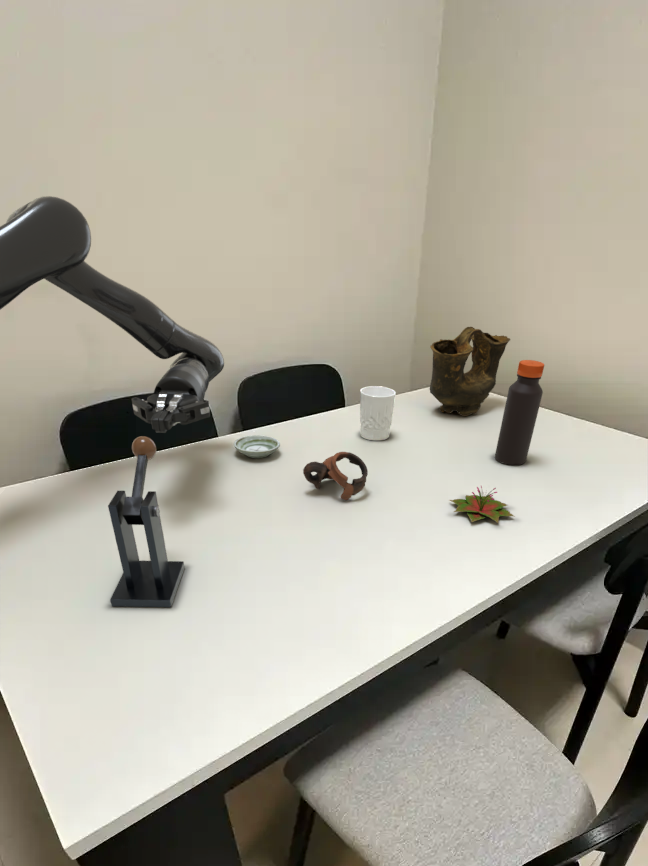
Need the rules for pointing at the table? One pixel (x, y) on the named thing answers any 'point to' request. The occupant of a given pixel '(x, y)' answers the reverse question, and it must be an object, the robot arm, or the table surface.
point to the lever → (138, 479)
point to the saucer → (257, 445)
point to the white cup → (376, 412)
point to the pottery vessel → (449, 373)
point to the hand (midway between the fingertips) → (159, 426)
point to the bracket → (143, 578)
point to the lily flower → (481, 507)
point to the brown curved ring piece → (337, 473)
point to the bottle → (520, 414)
